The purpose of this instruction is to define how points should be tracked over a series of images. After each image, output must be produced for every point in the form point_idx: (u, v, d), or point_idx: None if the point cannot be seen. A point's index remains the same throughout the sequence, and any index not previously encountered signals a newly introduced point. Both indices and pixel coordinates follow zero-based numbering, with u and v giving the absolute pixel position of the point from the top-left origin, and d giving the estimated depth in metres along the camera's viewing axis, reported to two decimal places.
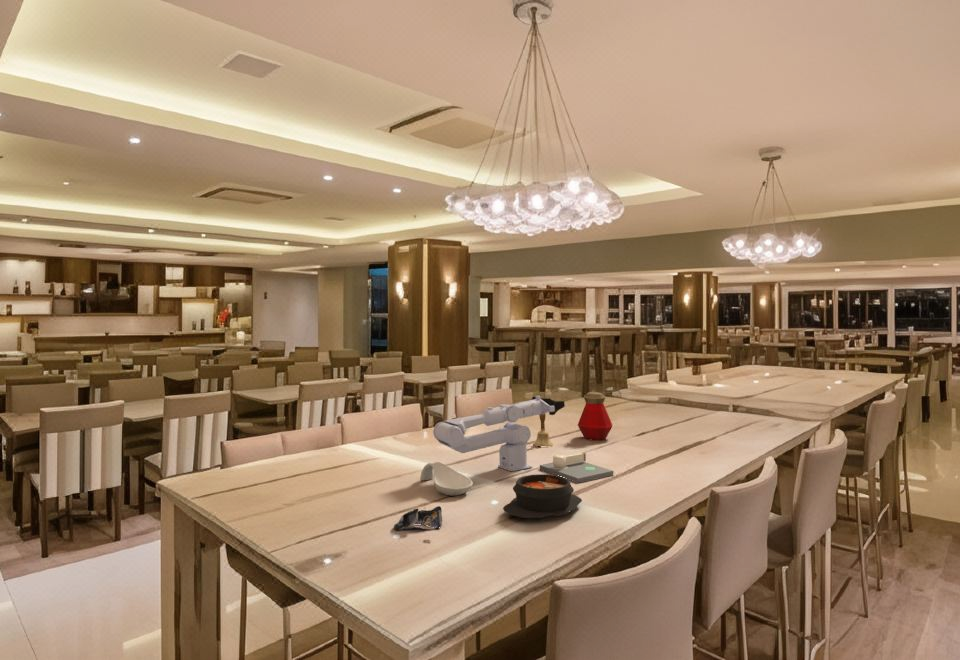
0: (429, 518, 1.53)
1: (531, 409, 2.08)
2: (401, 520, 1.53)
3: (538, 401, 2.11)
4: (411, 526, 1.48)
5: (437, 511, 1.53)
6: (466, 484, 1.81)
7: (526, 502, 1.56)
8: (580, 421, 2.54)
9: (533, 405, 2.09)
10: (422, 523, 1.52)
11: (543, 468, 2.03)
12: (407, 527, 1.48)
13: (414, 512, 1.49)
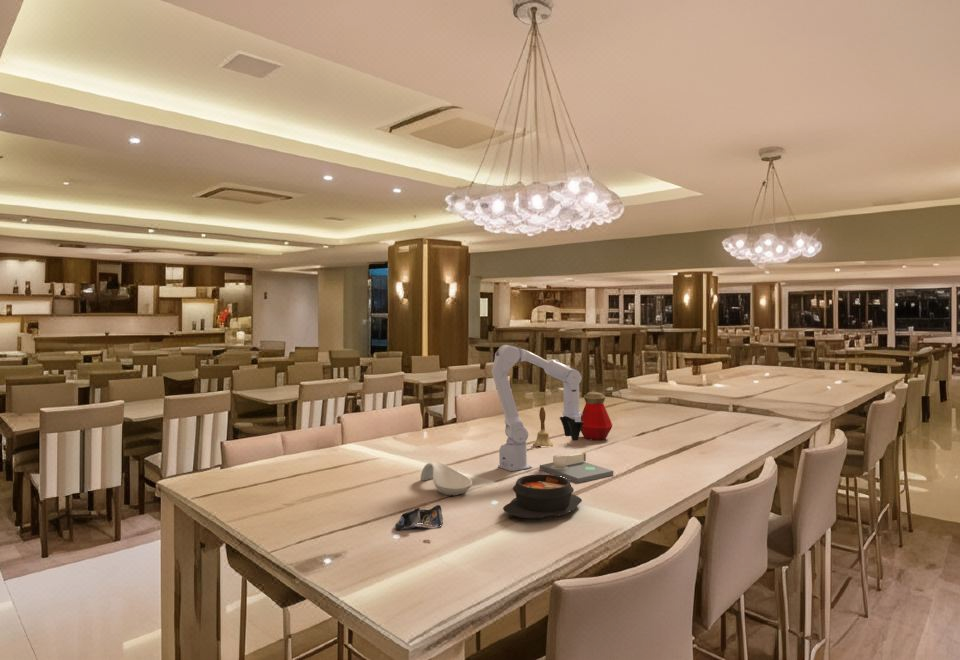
0: (428, 517, 1.54)
1: (574, 400, 2.09)
2: (401, 520, 1.53)
3: (578, 411, 2.10)
4: (413, 525, 1.48)
5: (437, 509, 1.54)
6: (466, 484, 1.81)
7: (526, 502, 1.56)
8: None
9: (577, 403, 2.09)
10: (422, 522, 1.53)
11: (543, 468, 2.03)
12: (409, 526, 1.48)
13: (415, 511, 1.50)
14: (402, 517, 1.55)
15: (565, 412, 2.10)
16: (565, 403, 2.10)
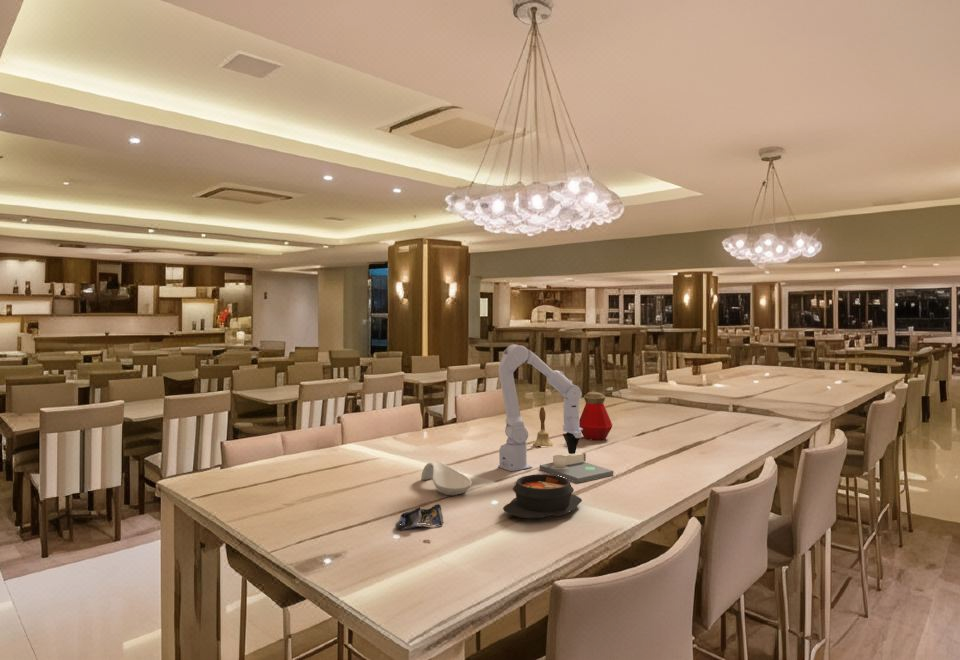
0: (428, 517, 1.54)
1: (574, 415, 2.09)
2: (400, 520, 1.53)
3: None
4: (414, 525, 1.48)
5: (436, 509, 1.55)
6: (465, 484, 1.81)
7: (526, 502, 1.56)
8: (580, 421, 2.54)
9: (577, 419, 2.10)
10: (422, 522, 1.53)
11: (543, 468, 2.03)
12: (410, 526, 1.48)
13: (416, 511, 1.50)
14: (401, 517, 1.55)
15: (565, 428, 2.10)
16: (565, 419, 2.10)
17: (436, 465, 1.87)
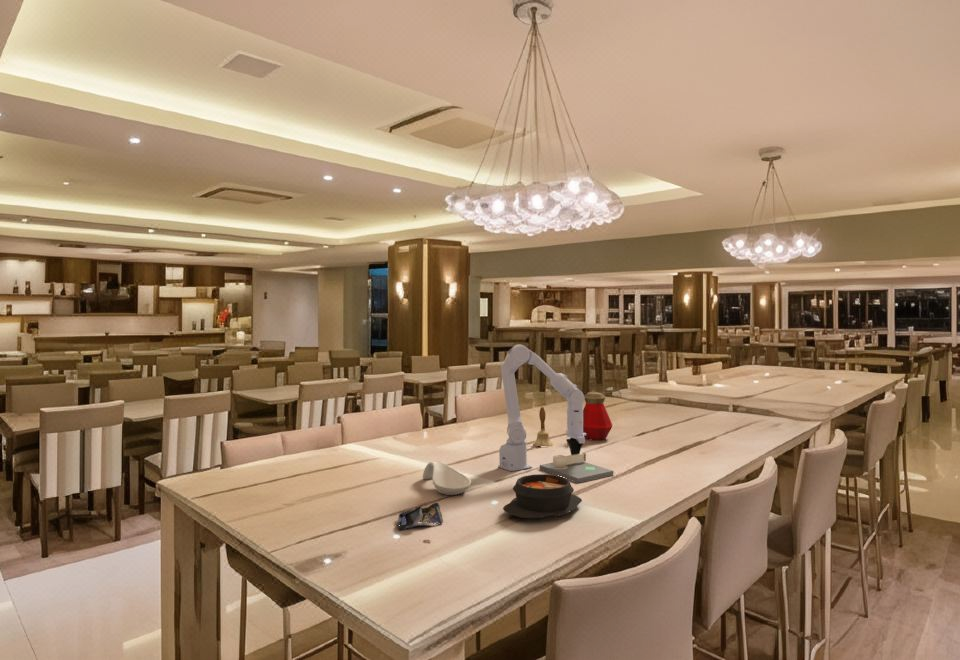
0: (427, 515, 1.55)
1: (577, 420, 2.05)
2: (400, 520, 1.53)
3: (582, 431, 2.07)
4: (415, 524, 1.49)
5: (434, 507, 1.56)
6: (465, 484, 1.81)
7: (526, 502, 1.56)
8: None
9: (581, 424, 2.06)
10: (421, 521, 1.54)
11: (543, 468, 2.03)
12: (411, 525, 1.49)
13: (416, 510, 1.51)
14: (400, 517, 1.55)
15: (569, 433, 2.07)
16: (569, 423, 2.07)
17: (437, 465, 1.88)
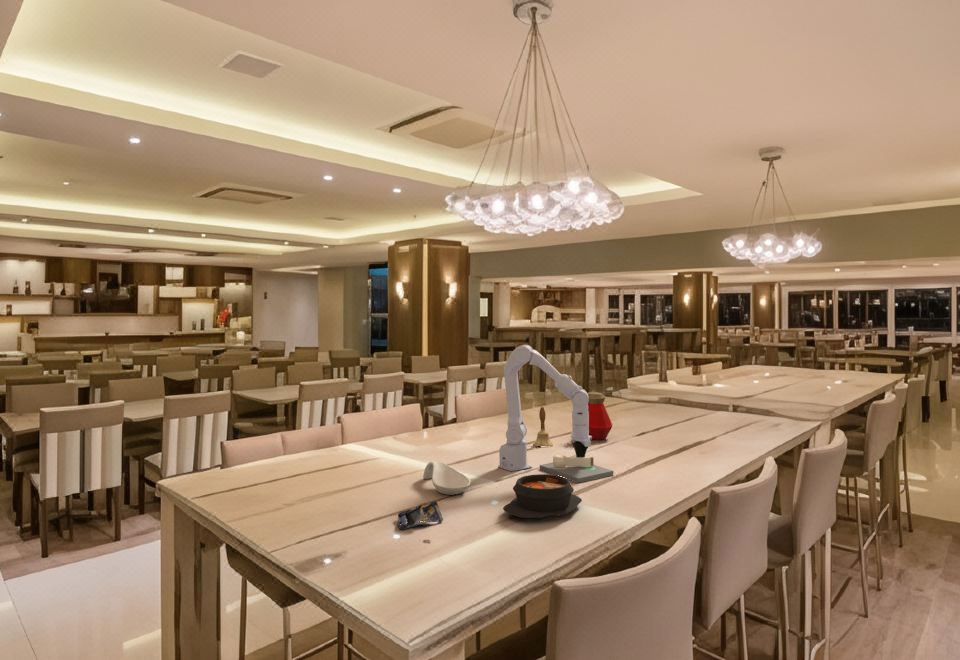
0: (426, 515, 1.56)
1: (580, 423, 2.00)
2: (399, 520, 1.53)
3: (588, 434, 2.02)
4: (417, 523, 1.49)
5: (433, 506, 1.57)
6: (464, 484, 1.81)
7: (526, 502, 1.56)
8: None
9: (586, 426, 2.01)
10: (420, 520, 1.55)
11: (543, 468, 2.03)
12: (412, 525, 1.49)
13: (417, 509, 1.51)
14: (399, 517, 1.55)
15: (574, 436, 2.01)
16: (574, 426, 2.01)
17: (437, 464, 1.88)
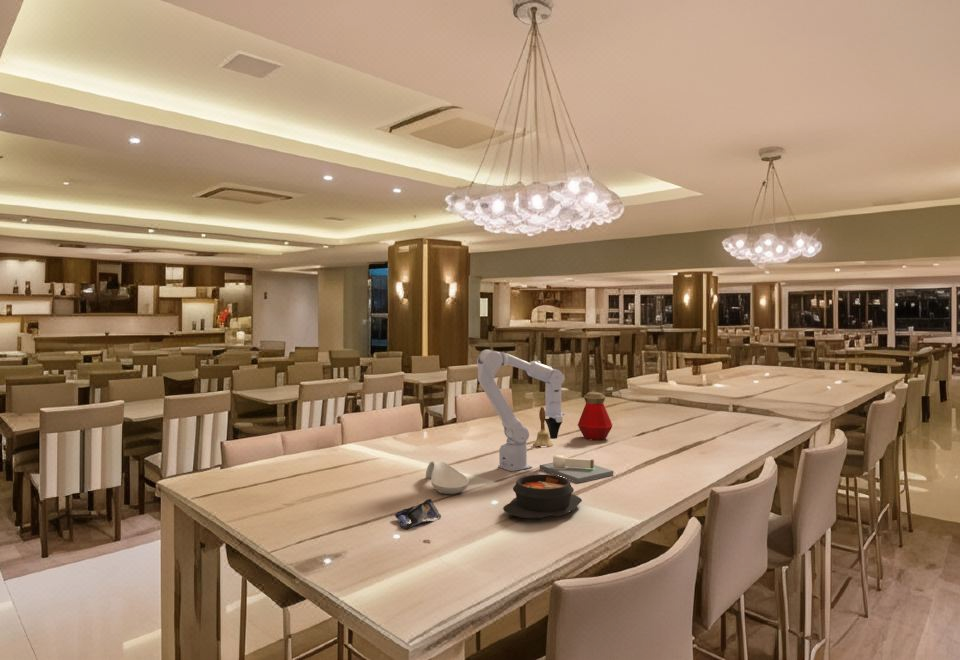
0: None
1: (557, 400, 2.09)
2: (399, 520, 1.53)
3: (560, 411, 2.10)
4: (420, 521, 1.51)
5: (428, 503, 1.59)
6: (463, 483, 1.81)
7: (526, 502, 1.56)
8: (580, 421, 2.54)
9: (559, 403, 2.09)
10: None
11: (543, 468, 2.03)
12: (416, 523, 1.51)
13: (418, 508, 1.53)
14: (396, 517, 1.55)
15: (547, 412, 2.10)
16: (547, 403, 2.10)
17: (438, 464, 1.89)
